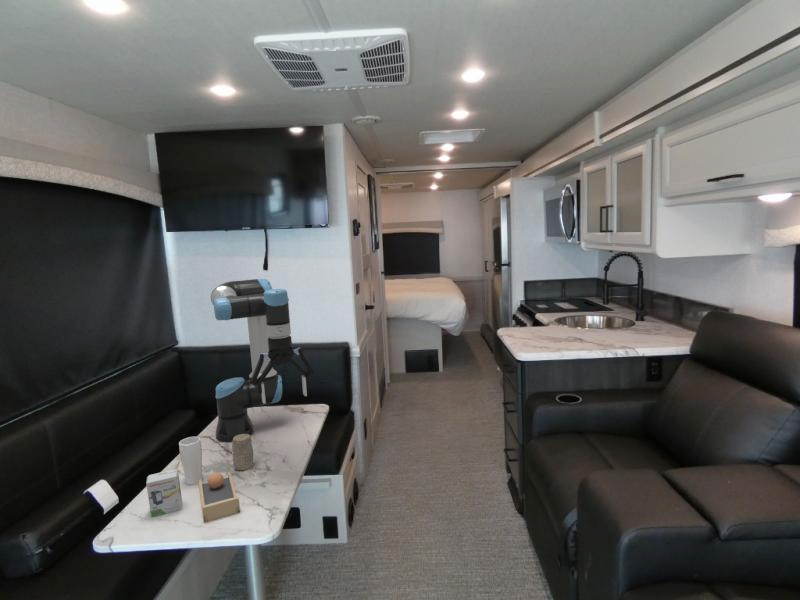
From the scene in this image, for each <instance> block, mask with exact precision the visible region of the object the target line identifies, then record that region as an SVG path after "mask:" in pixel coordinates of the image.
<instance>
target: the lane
mask: <svg viewBox="0 0 800 600" xmlns="http://www.w3.org/2000/svg"><path fill="white" fill-rule="evenodd" d="M202 481H203V480H202ZM202 481H201V479H200V480H199V483H198V484H199V493H200V500H201V510H202V511H201V512H202V517H203V523H207V522H210V521H214V520H218V519H221V518H225V517H228V516H231V515H236V514H238V513H241V507H240V498H239V496H237V492H236V489H235V485H234V481H233V477H232V474H231V471H229V472H227V477H225V478H224V482H223V484H222V485H221V486H220V487H219V488H216V489H213V488H211V487H209V485H208V482H205V483H203V482H202Z"/></svg>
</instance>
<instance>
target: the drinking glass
mask: <svg viewBox="0 0 800 600" xmlns="http://www.w3.org/2000/svg"><path fill="white" fill-rule="evenodd" d="M178 446H179V447H178V449H179V456H180V461H181V465H182V470H183V473H184V479H185V484H186V485H187V486H188V485H189V486H192V485H193V486H194V485H197V484H199V480H200V479H201V481H203V479H204V478H203V477H204V476H203V450H202V441H201V437H199V436H188V437H186V438H185V437H184V438H183V439H181V440H180V441H179V442H178Z"/></svg>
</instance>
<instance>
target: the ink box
mask: <svg viewBox="0 0 800 600" xmlns="http://www.w3.org/2000/svg"><path fill="white" fill-rule="evenodd" d="M145 483H146V491H147V497H148V504H149V510H150V517H151V518H153V517H157V516H161V515H165V514H168V513H173V512H178V511H181V510H183V498H182V497H183V496H182V489H181V484H180V483H181V481H180V474H179V469H171V470H167V471H162V472H161V471H160V472H157V473H153V474H149V475H148V476H147V477H146V482H145Z"/></svg>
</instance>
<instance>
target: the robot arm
mask: <svg viewBox="0 0 800 600" xmlns="http://www.w3.org/2000/svg"><path fill="white" fill-rule="evenodd" d="M210 302H211V304H212V306H213V312H214V316H215V317H214V318H215V319H216V321H229V320H237V319H238V320H239V319H245V318H247V319H246V321H247V329H248V338H249V348H250V349H249V352H250V359H251V370H252V371H251V373H250V374H249V375H248V378H249V379H248V380H247V379H244V377H241V376H240V377H231V378H229V379H225V380H223V381H222V382H219V384H217V385H216V386H215V399H216V408H217V418H218V420H217V425H216V427H215V433H214V434H215V439H216V441H219V442H227V443H230V442H231V443H232V441H233V438H234V437H235V436H237V435H239V434H249V435H250V436H252V435H253V433H254V431H255V430H254V425H253V423H252V421H251V419H250V417H249V414H248V409H251V408H257V407H261V406H266V405H272V404H276V403H279V402H280V401H281V399H282V396H283V379H282V376H281V375H280V374H278V371H277V370H275V369H274V367H275V365H277V366H281V365H288V363H291V365H292V366H293V367H295V368H296V369H297V370H298V371H299V372H300V373H301V374H302V375H301V384H302V386H301V387H302V394H303V396H304V397H307V396H308V393H307V392H308V391H307V389H308V388H307V386H310V379H309V378H310V376H311V375H312V374H314V371H315V370H313V368H312V366H311V364H310V363H309V362H308V360H307V358H306V357H305V355H304V353H303V349H302V348H301V347H299V346H298V347H297V348H295V349H293V342H292V336H291V334H292V331H291V319H290V318H291V317H290V307H289V306H290V305H289V296H288V291H287V289H286V288H285V289H284V288H274V289H273V287H272V284H271V282H270V281H269V280H268V279H266V278H255V279H254V278H253V279H246V280H231V281H228V282H223V283H221V284H219V285H217V286H216V287H215V288H214V289H213V290H212V292H211V293H210ZM294 354H295V355H297V356H299V358H300V359H301V361H302V363H303V364H304V366H305V368H306V369H307V370H305V369H304V368H303V367H302V366H301V365H300V364H299V363H298V362H296V361H295V360H294V359H293V356H294Z"/></svg>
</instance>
